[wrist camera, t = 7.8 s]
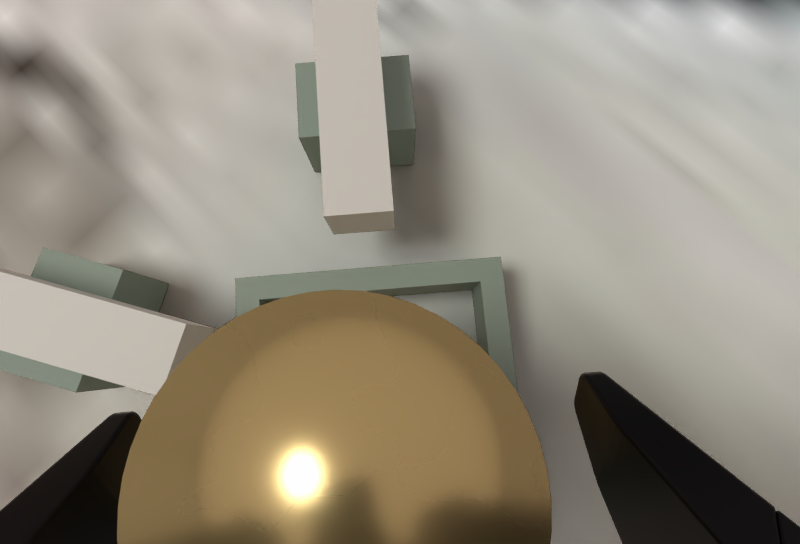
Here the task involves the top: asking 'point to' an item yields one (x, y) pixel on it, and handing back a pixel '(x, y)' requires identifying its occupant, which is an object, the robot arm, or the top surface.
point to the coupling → (336, 435)
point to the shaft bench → (175, 338)
